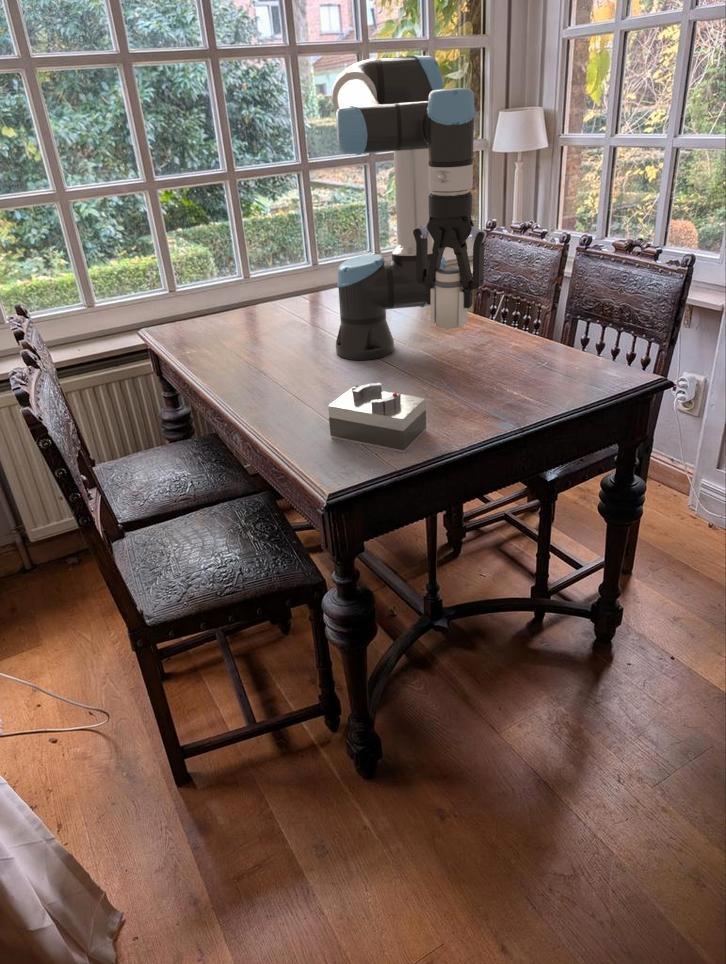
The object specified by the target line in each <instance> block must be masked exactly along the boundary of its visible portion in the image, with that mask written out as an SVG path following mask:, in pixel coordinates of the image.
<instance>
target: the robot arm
mask: <svg viewBox="0 0 726 964" xmlns="http://www.w3.org/2000/svg"><path fill="white" fill-rule="evenodd" d="M331 102H332V106H333V109H334V111H335V112H336V113H335V114H336V115H335V124H336V136H337V137H336V139H337V145H338V147H337V149H338V150H339V152H340V153H341V154H342V155H357V156H360V155H363V154H372V153H386V152H393V164H394V167H393V168H394V188H395V189H394V190H395V191H394V192H395V210H396V211H395V213H396V215H395V216H396V234H397V239H396V240H397V245H396V246H395V247H394V249H392V251H391V260H385V258H384V256H383V255H381V254H377V253H375V254H365V255H364V254H363V255H359V256H355V257H352V258H349V259H347V260H345V261H343V262H341V264H340V265H338V268H337V282H336V286H337V288H338V302H339V303H338V304H339V314H340V319H339V320H340V325H339V329H338V333H337V337H336V342H335V353H336V355H338V356H339V357H340V358H343V359H345V360H346V359H347V360H353V361H368V360H369V361H370V360H376V359H380V358H383V357H386V356H389V355H390V354H392V353H393V352H394V350H395V342H394V341H395V340H394V337H393V334H392V332H391V330H390V327H389V324H388V321H387V312H386V310H395V309H404V308H405V309H406V308H407V309H408V308H419V307H420V308H425V307H430V324H436V285H435V278H436V271H437V270H438V269H442V268H447V262H446V258H445V257H444V256H443V255H444V251H445V250H446V248H449V249H452V250H453V253H454V255H455V258H456V262H457V268H459V272H460V277H461V281H462V286H463V289H462V290H461V291H459V325H458V326H460V327H462V328H463V327H464V326H465V325H466V324H467V323H468V319H469V316H468V315H469V313H468V312H469V309H470V308H471V307H472V306H473V304H474V303H473V302H474V301H473V300H474V290H477V289H479V288H480V287H482V286H483V285H484V280H485V279H484V278H485V277H484V276H485V274H484V273H485V272H484V271H485V242H486V240H487V237H488V235H489V231H488V230H487V229H484V228H483V229H480V228H478V227H475V225H474V223H473V220H472V213H473V193H472V191H470V190H472V188H473V182H474V181H473V177H474V174H473V173H474V172H473V169H474V168H473V167H474V162H473V161H474V133H475V132H474V130H475V117H476V109H475V94H474V91H473V90H472V89H471V88H469V87H459V88H458V87H453V88H444V80H443V75H442V72H441V68H440V64H439V63H438V61H437V60H436V58H435V57H434V56H431V55H416V54H415V55H409V56H408V55H406V56H398V57H397V56H396V57H384V58H368V59H364V60H361V61H358V62H356V63H353V64H351V65H349V66H348V67H346V68H345V69H344V70H343V71H341V72H340V73H339V74H338V76H337V77H336V79H335V80H334V82H333V84H332V87H331ZM470 235H471V236H472V237H471V239H472V240H471V241H472V242H473V245H472V268H471V264H470V259H469V254H468V243H467V240H468V238H469V237H470ZM460 327H459V328H460Z"/></svg>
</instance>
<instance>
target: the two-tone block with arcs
mask: <svg viewBox="0 0 726 964" xmlns="http://www.w3.org/2000/svg"><path fill="white" fill-rule="evenodd" d="M426 407H427V406H426V397H421V396H420V397H419V396H415V395H409V394H401V393H399V392H389V391H384V390H382V383H381V382H373V383H372V382H371V383H365V384H362V385H353V386H351V388H350V389H349V390H346V392H344V393H343V394H342V395H340V396H339V397H338V398H336V399H335V400H334V401H332V402H330V403H329V405H328V406H327V408H328V416H329V417H328V421H329V432H330V438H331V439H333V440H334V439H335V440H340V441H345V442H350V443H354V444H358V445H359V444H360V445H364V446H369V447H373V448H379V449H384V450H390V451H394V452H400V453H404V454H405V452H406V451H407V450H409V448H410V447H411V446H413V445H414V443H415V442H416V441H417V440H418V439H419V438H420V437H421V436H422V435H423V434H424V433H425V432H427V431H426V430H427V410H426Z"/></svg>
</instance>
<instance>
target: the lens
mask: <svg viewBox="0 0 726 964" xmlns="http://www.w3.org/2000/svg"><path fill="white" fill-rule="evenodd" d="M435 285H436V323H435V326H436V327H438V328H439V329H447V330H449V329H450V330H451V329H452V330H453V329H457V328H460V326H458V325H459V291H461V290H462V289H463V286H462V281H461V277H460V272H459V268H458V267H446V268H442V269H438V270H437V271H436V278H435Z"/></svg>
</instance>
